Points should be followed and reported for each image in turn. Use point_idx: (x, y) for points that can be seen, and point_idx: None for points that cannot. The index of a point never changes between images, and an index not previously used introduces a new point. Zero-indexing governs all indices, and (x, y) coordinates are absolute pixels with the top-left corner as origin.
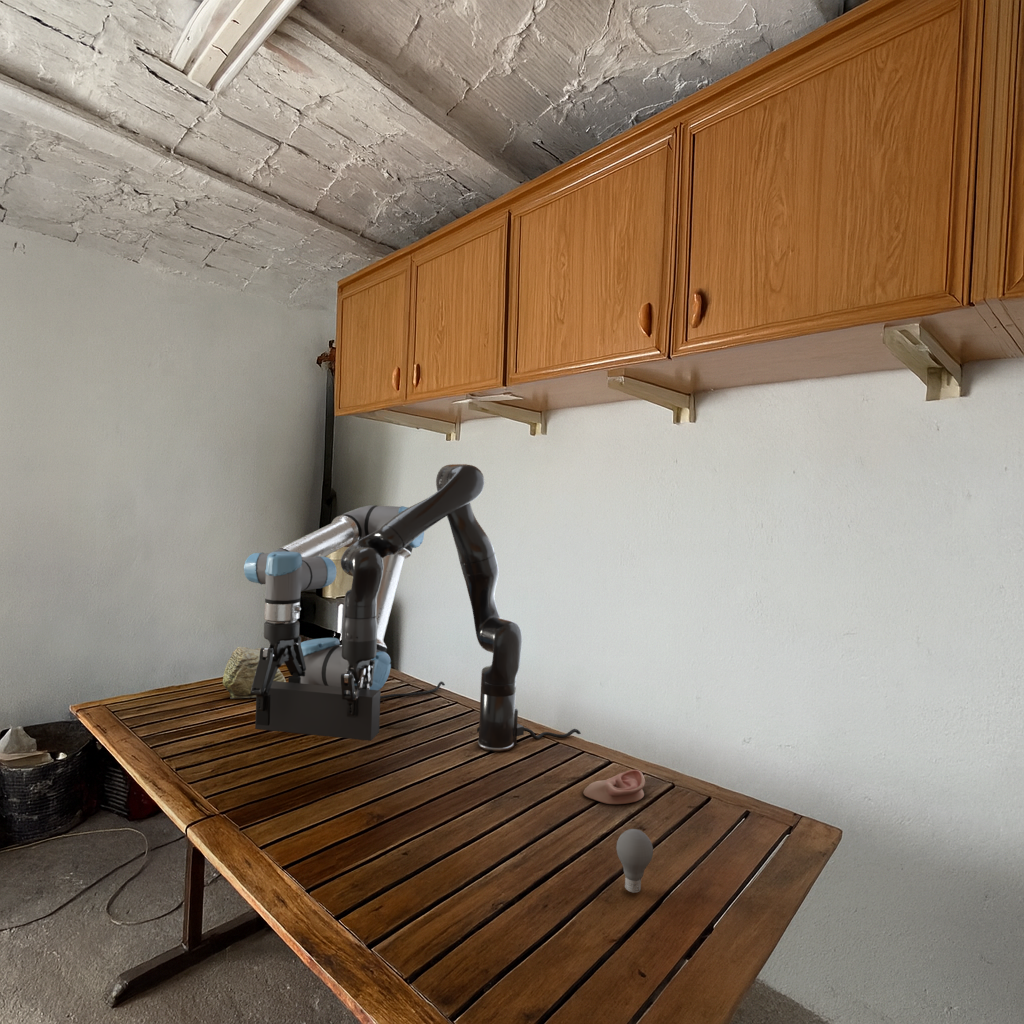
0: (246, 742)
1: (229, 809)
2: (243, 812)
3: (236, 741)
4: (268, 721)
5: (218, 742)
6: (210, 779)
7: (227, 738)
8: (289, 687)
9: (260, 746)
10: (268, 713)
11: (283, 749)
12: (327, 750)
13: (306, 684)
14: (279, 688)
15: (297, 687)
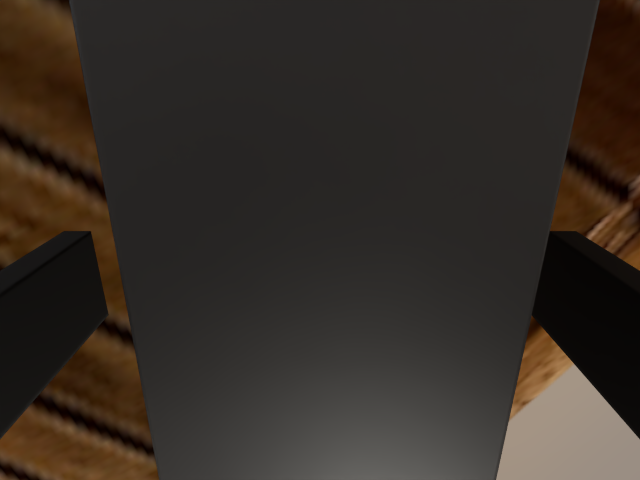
0: (116, 393)
1: (601, 186)
2: (623, 129)
3: (123, 422)
4: (584, 241)
5: (153, 459)
6: None
7: (114, 454)
8: (419, 299)
9: (125, 340)
10: (632, 272)
11: (113, 257)
12: (40, 81)
13: (128, 78)
14: (493, 411)
15: (380, 165)
